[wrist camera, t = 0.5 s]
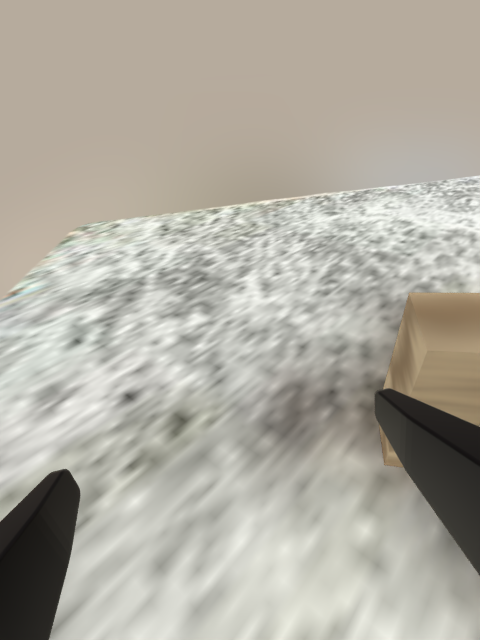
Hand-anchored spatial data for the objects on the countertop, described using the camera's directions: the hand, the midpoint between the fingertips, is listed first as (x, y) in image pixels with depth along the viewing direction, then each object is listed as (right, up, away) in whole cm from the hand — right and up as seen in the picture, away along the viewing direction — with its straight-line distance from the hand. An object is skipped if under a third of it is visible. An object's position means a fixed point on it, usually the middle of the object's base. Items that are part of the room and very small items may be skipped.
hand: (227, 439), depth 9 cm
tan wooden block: (+13, -6, +15) cm, 21 cm away
